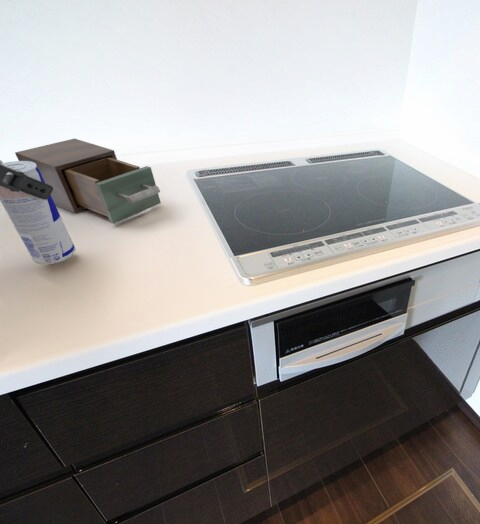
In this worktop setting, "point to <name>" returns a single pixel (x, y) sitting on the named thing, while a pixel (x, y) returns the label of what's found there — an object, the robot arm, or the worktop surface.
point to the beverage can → (36, 219)
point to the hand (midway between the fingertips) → (37, 187)
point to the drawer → (113, 187)
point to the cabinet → (63, 166)
